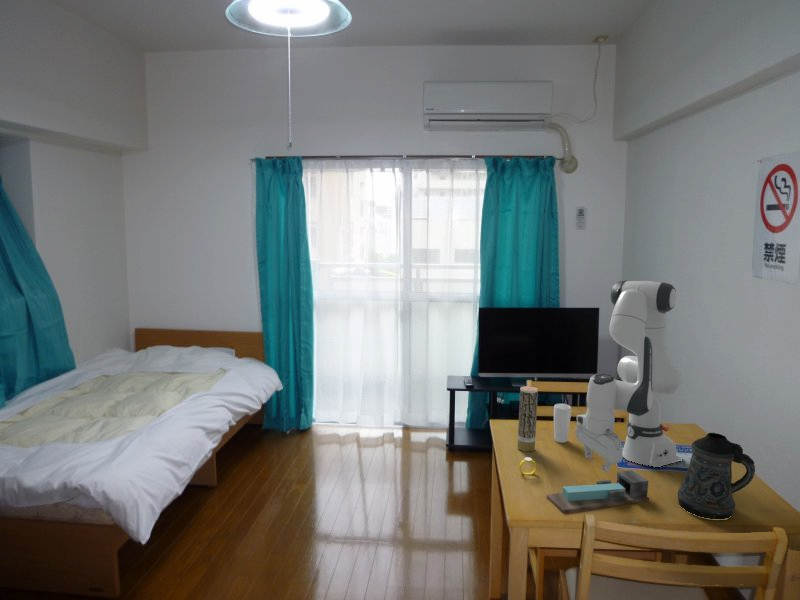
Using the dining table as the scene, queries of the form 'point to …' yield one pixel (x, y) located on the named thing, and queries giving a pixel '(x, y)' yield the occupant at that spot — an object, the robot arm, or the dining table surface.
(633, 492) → the end-cap base
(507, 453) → the dining table surface
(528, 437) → the brown bark cylinder
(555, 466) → the dining table surface
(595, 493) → the slat
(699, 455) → the beer stein
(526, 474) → the watch
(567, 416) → the drinking glass
